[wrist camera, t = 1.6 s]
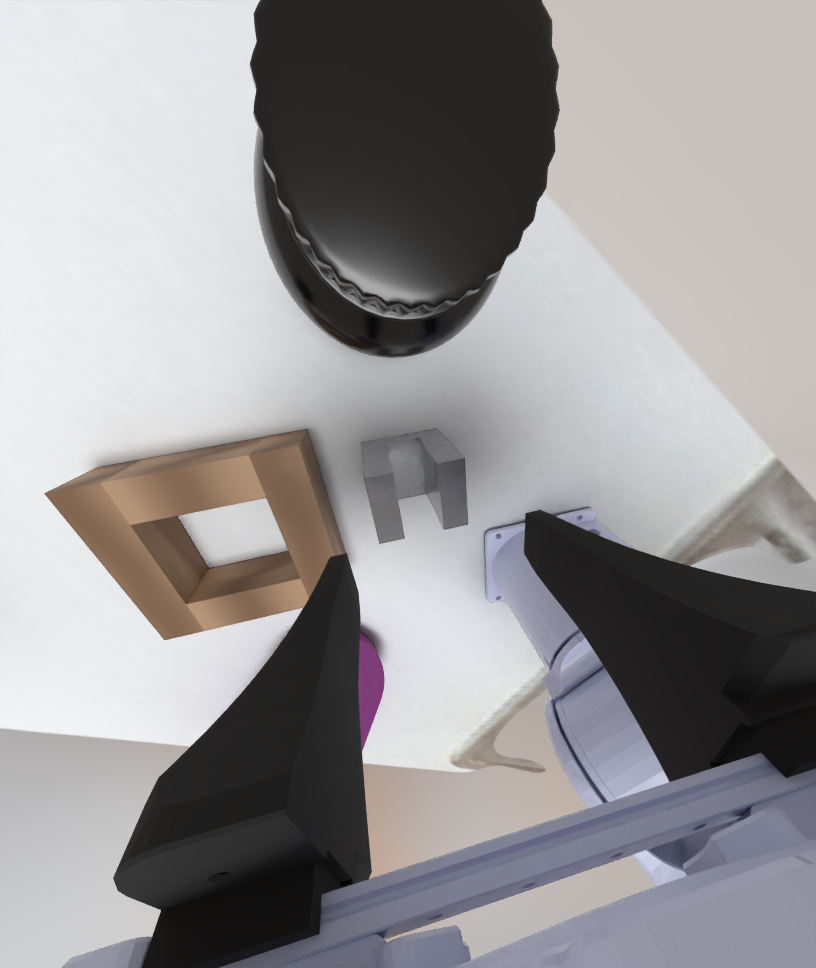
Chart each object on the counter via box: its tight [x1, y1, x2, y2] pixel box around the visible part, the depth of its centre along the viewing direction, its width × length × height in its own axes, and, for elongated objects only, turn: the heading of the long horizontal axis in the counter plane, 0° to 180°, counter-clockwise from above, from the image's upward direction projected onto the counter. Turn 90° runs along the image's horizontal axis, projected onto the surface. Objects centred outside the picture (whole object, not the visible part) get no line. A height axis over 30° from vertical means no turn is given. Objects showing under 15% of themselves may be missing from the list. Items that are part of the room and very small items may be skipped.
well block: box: [44, 429, 345, 640], centre depth 18 cm, size 12×11×3 cm
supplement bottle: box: [250, 0, 560, 358], centre depth 10 cm, size 7×7×12 cm
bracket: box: [361, 429, 468, 544], centre depth 17 cm, size 5×4×6 cm
